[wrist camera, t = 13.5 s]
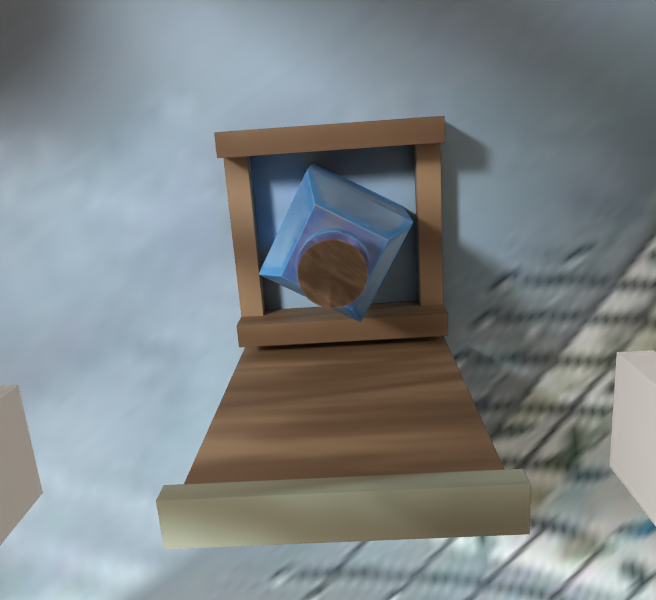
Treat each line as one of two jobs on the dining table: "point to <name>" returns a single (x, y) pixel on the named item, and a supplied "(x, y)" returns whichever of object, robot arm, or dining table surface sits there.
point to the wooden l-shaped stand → (342, 395)
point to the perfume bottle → (336, 242)
